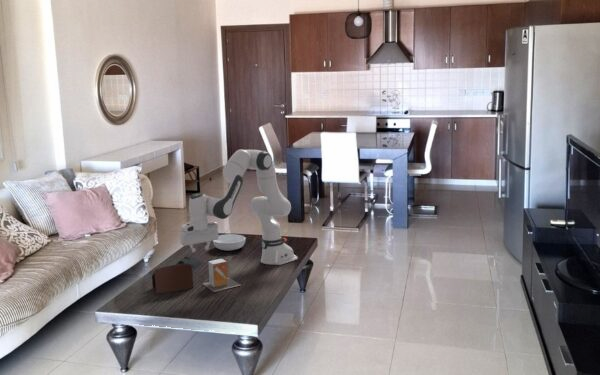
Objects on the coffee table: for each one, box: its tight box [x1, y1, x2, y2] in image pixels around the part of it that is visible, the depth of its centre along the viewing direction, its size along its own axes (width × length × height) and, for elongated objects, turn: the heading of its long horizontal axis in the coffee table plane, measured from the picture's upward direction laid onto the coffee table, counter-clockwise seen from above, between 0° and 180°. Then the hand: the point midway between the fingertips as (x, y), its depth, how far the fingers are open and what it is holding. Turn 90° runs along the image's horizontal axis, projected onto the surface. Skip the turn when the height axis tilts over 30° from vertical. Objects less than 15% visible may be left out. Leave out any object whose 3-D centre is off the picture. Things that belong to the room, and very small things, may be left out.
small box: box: [208, 258, 228, 287], centre depth 312 cm, size 8×6×13 cm
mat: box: [202, 277, 242, 293], centre depth 313 cm, size 16×14×1 cm
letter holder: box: [151, 264, 194, 295], centre depth 310 cm, size 10×20×14 cm, turn 114°
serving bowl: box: [212, 233, 247, 252], centre depth 376 cm, size 21×21×7 cm
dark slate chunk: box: [175, 255, 204, 273], centre depth 343 cm, size 15×22×5 cm
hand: (200, 250), depth 303 cm, fingers open, 6 cm apart
